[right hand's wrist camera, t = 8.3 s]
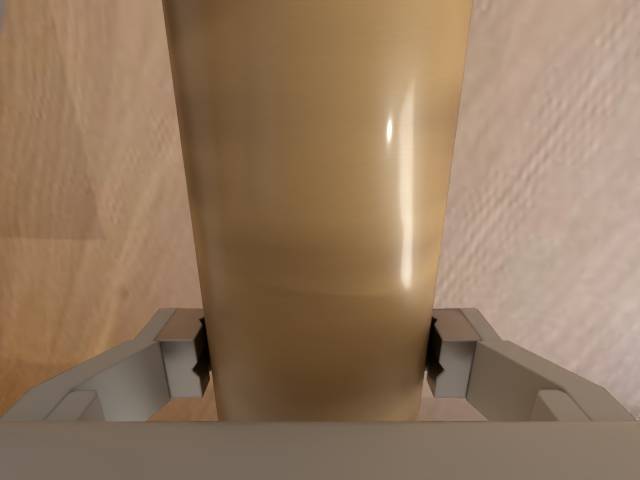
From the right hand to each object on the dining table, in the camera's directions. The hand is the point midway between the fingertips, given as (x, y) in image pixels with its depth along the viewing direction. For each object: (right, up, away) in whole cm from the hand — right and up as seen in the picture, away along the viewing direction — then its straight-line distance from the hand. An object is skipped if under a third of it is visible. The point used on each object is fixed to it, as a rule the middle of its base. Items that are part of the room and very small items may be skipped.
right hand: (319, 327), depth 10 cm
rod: (0, +11, -1) cm, 11 cm away
